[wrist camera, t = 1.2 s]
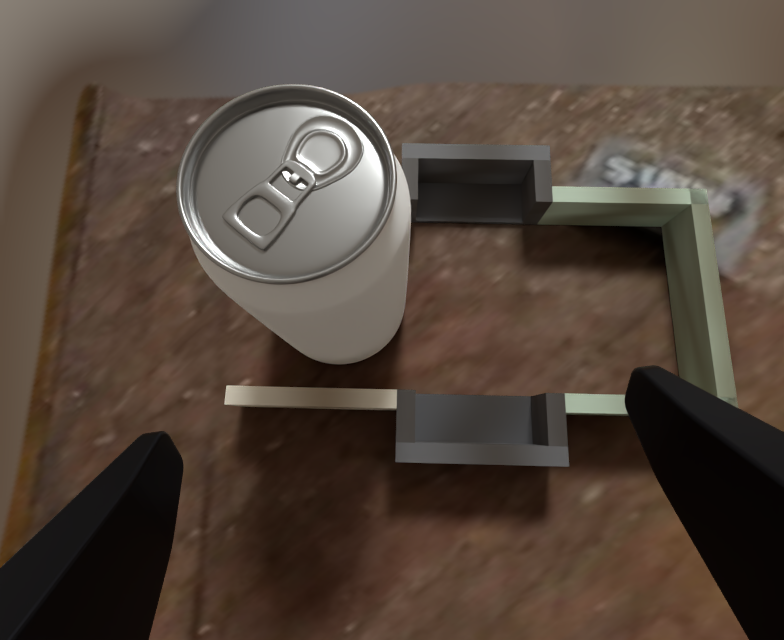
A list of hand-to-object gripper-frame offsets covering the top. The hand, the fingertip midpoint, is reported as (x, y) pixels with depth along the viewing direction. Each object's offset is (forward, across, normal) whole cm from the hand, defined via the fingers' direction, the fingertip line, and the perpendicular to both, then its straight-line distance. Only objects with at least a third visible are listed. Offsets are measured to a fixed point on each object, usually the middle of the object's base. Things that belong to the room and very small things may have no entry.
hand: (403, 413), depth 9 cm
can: (+14, +2, +6) cm, 15 cm away
